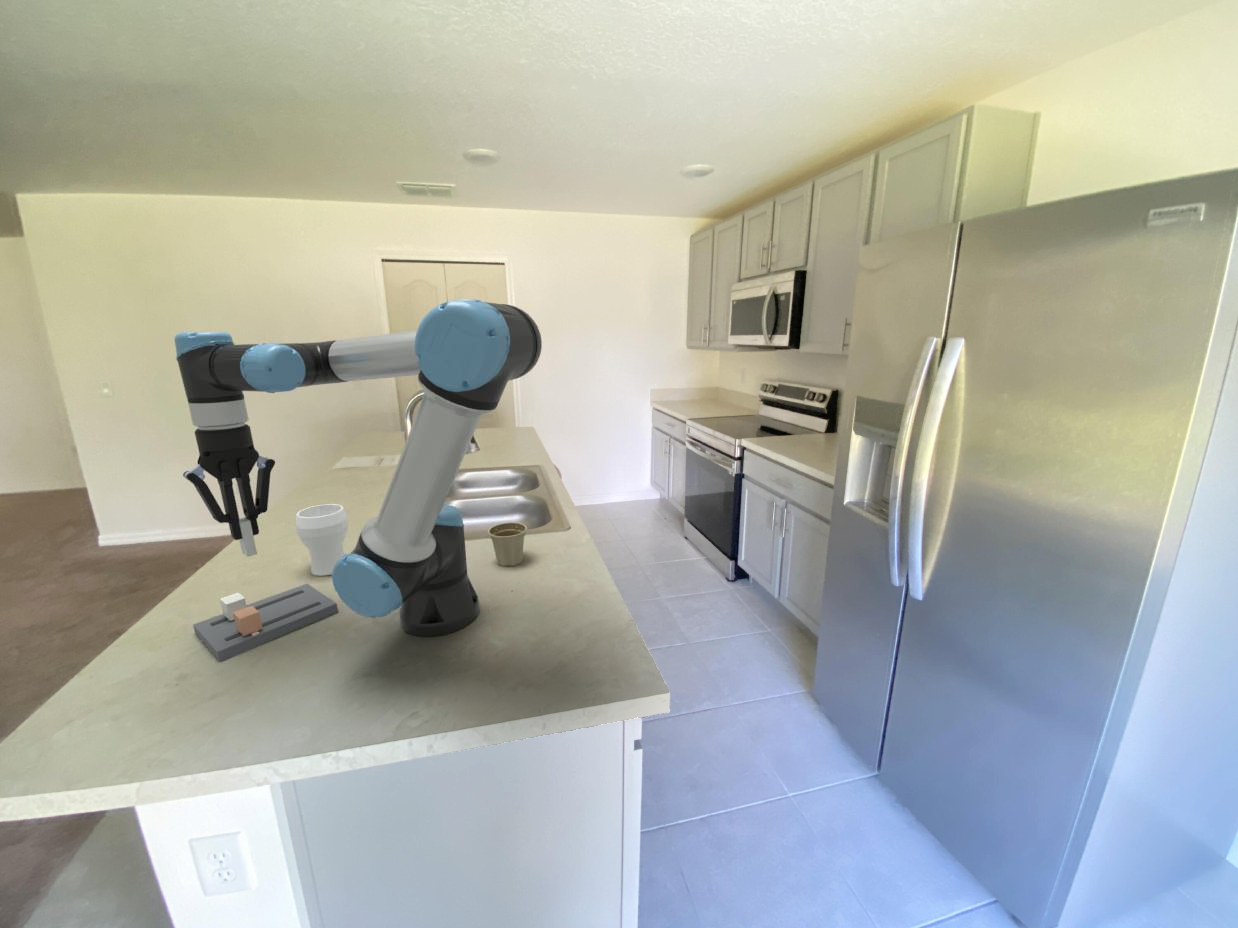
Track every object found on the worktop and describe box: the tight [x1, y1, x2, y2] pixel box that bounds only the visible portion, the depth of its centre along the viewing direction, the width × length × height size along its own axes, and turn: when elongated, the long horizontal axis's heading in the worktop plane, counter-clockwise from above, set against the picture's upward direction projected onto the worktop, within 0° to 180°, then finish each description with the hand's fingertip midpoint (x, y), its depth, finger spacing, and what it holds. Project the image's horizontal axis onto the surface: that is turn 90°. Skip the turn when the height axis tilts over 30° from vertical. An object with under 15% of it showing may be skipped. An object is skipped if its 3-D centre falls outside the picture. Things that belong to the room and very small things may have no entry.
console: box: [192, 583, 339, 663], centre depth 99 cm, size 14×20×2 cm
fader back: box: [219, 592, 247, 621], centre depth 97 cm, size 4×3×4 cm
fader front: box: [233, 606, 263, 636], centre depth 92 cm, size 4×3×4 cm
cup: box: [295, 503, 349, 577], centre depth 120 cm, size 11×11×15 cm
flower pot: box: [487, 522, 528, 567], centre depth 124 cm, size 9×9×9 cm
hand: (249, 553), depth 91 cm, fingers closed
